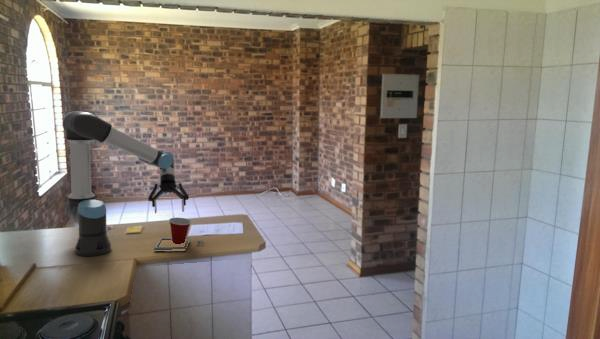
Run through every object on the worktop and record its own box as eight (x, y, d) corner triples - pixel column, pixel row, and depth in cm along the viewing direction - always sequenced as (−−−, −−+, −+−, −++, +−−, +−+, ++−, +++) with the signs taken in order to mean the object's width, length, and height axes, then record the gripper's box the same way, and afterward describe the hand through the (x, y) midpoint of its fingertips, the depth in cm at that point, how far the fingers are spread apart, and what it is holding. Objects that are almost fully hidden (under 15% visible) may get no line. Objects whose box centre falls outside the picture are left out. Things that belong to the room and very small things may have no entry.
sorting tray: (154, 251, 201) (154, 247, 200) (160, 241, 215) (160, 237, 215) (185, 251, 202) (185, 247, 202) (189, 241, 217) (189, 238, 216)
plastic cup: (187, 247, 206) (188, 223, 204) (165, 245, 206) (166, 222, 204) (192, 240, 217) (193, 218, 215) (171, 238, 217) (172, 216, 215)
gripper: (190, 180, 235) (193, 213, 224) (142, 181, 226) (143, 216, 214) (191, 172, 229) (195, 206, 218) (143, 173, 220) (144, 208, 209)
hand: (169, 211), depth 216 cm, fingers open, 13 cm apart
